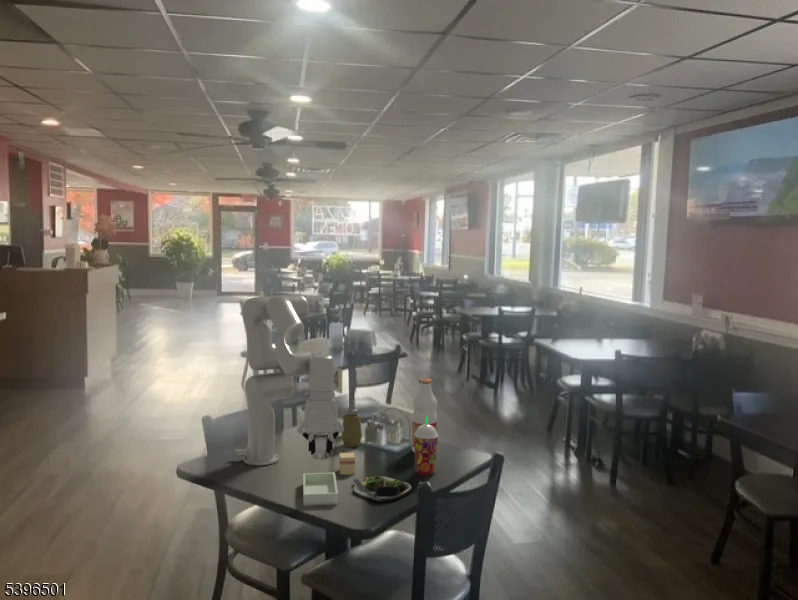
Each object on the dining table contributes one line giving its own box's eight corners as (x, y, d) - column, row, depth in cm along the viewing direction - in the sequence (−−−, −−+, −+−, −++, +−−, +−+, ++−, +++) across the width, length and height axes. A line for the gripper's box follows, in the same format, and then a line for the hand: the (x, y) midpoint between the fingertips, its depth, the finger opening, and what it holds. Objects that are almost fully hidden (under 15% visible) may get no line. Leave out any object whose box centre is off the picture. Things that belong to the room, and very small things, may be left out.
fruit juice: (407, 449, 250) (408, 378, 247) (428, 446, 254) (430, 376, 251) (419, 456, 241) (420, 383, 239) (440, 453, 246) (442, 381, 243)
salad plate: (336, 492, 207) (336, 478, 206) (373, 476, 221) (373, 463, 220) (382, 508, 195) (383, 493, 194) (418, 491, 209) (418, 477, 208)
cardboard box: (340, 474, 221) (340, 457, 221) (339, 469, 226) (339, 453, 226) (354, 474, 222) (355, 457, 222) (353, 469, 227) (353, 452, 226)
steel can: (313, 460, 196) (313, 437, 196) (312, 455, 201) (312, 433, 200) (328, 459, 197) (328, 437, 196) (327, 454, 202) (328, 432, 201)
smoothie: (424, 467, 230) (426, 412, 228) (442, 473, 224) (443, 417, 223) (408, 472, 224) (409, 416, 223) (425, 479, 219) (427, 421, 217)
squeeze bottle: (353, 440, 259) (353, 396, 257) (366, 445, 253) (366, 400, 251) (337, 444, 254) (337, 400, 252) (349, 450, 248) (350, 404, 246)
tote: (303, 506, 194) (303, 494, 194) (303, 484, 212) (303, 473, 212) (338, 504, 196) (338, 493, 196) (334, 482, 214) (334, 472, 213)
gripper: (292, 398, 192) (292, 458, 194) (349, 397, 195) (349, 456, 196) (293, 392, 200) (292, 450, 201) (347, 391, 202) (347, 448, 204)
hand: (320, 452), depth 199 cm, fingers closed on steel can, 4 cm apart
